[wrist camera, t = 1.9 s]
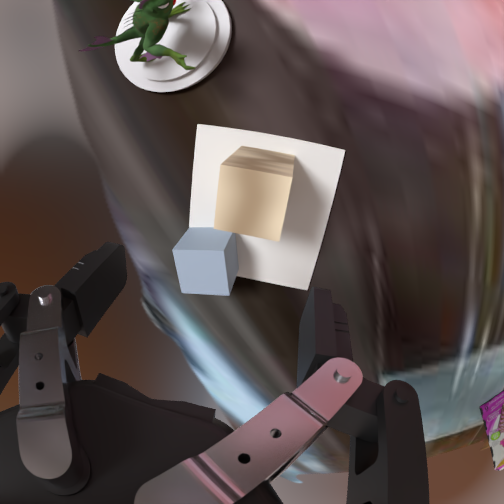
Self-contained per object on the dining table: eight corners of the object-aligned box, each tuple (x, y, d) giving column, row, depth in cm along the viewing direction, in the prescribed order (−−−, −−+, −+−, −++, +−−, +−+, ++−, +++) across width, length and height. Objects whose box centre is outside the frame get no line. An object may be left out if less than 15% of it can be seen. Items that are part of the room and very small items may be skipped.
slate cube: (234, 227, 31) (223, 250, 27) (238, 268, 34) (229, 295, 30) (189, 227, 32) (172, 249, 28) (196, 266, 35) (182, 292, 30)
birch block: (294, 155, 27) (292, 177, 20) (284, 204, 29) (279, 241, 23) (241, 145, 27) (220, 164, 20) (234, 194, 30) (213, 228, 23)
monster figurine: (249, 63, 23) (222, 47, 15) (139, 111, 27) (76, 125, 18) (208, -33, 18) (167, -77, 10) (107, 20, 22) (41, 9, 13)
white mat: (344, 150, 26) (345, 150, 26) (307, 289, 34) (307, 290, 34) (198, 124, 27) (197, 124, 27) (188, 264, 35) (187, 265, 35)
